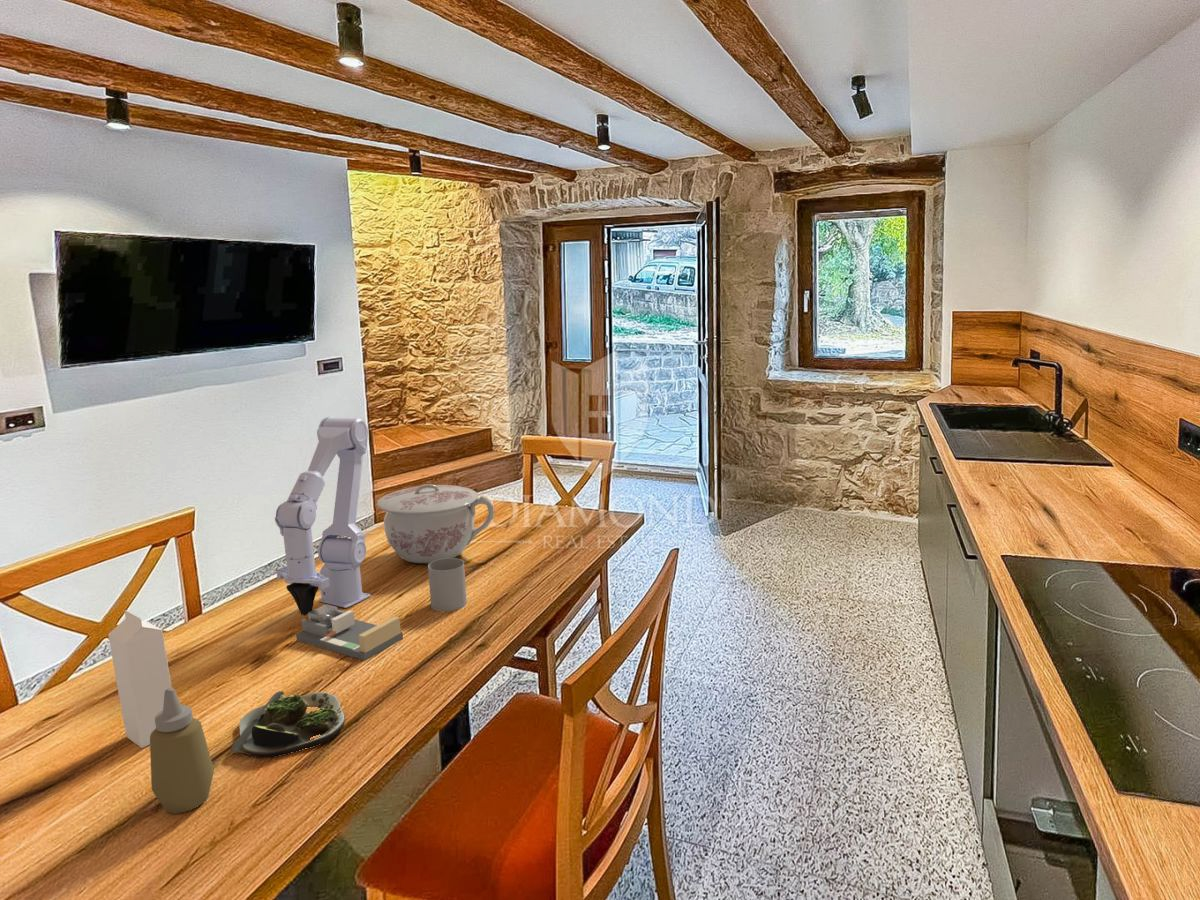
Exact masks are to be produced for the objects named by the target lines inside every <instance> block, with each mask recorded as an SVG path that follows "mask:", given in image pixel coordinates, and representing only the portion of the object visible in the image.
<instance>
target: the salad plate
mask: <svg viewBox="0 0 1200 900" xmlns="http://www.w3.org/2000/svg"><path fill="white" fill-rule="evenodd" d="M307 707H311V708H312V707H318V708H317V709H316V710H311V711H310V712H309V713H307V710H308V709H307ZM319 708H320V709H319ZM323 708H324V709H323ZM345 721H346V717H345V714H344V712H343V710H342V707H341V703H340V701H339V700H338V698H337V697H336V695H334V694H332V693H328V692H312V693H308V694H303V695H299V694H294V695H292V694H291V695H290V696H285V692H284V691H283V690H280V691H277V692H275V693H274V694H273V695H272V696H271V698H269V700H268V701H267V702H266V704H264V705H261V706H258V707H256V708H254V709H251V711H249V712H247V713H246V714H245V715H243V716H242V718H241V719H240V720H239V724H238V725H239V738H237V739H236V740H235V741H234V743H233V745H232V746H231V749H230V751H231V752H232V753H233V754H235V753H243V754H247V755H249V756H252V757H255V756H256V757H255V758H259V757H271V758H275V757H274V756H277V757H280V756H279V755H282V756H284V755H283V754H287V755H289V754H288V753H291V752H295V753H297V752H296V751H298V752H300V751H299V750H302V749H305V748H310V747H313V746H316V745H319V744H321V743H323V744H325V743H327V742H329V741H330V740H332V739H333V738H335V737H336V736H337V735H338V734H339V733H338V732H341V730H342V729H343V727H344V725H345ZM319 734H320V735H321V736H319V737H317V738H316V739H312V740H310V738H311V737H313V736H316V735H319ZM336 734H337V735H336ZM335 735H336V736H335ZM334 736H335V737H334ZM331 738H332V739H331ZM328 740H329V741H328ZM326 741H327V742H326ZM324 742H325V743H324ZM321 745H322V744H321ZM319 746H320V745H319ZM316 747H317V746H316ZM313 748H314V747H313ZM310 749H311V748H310ZM302 751H303V750H302ZM291 754H292V753H291Z"/></svg>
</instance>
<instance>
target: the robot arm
mask: <svg viewBox="0 0 1200 900" xmlns="http://www.w3.org/2000/svg"><path fill="white" fill-rule="evenodd" d="M316 434H317V435H316V437H317V441H318V443H317V446H316V448H315V450H314V453H313V456H312V458H311V461H310V464H309V466H308V468H307V471H304V472H301V473H300V474H299V476H298V478H297V480H296V482H295V484H294V486H293V488H292V490H291V492H290V494H289V496H288V498H287V500H286V501H283V502H282V503H281V504H279V506H277V508H276V513H275V517H274V522H275V524H276V526H277V527H278V528H279V532H280V533H279V534H280V535H281V536H282V537H283V544H284V552H285V553H284V555H285V560H286V562H285V563H286V567H282V568H279V569H277V570H276V578H277V579H279V580H281V579H284V583H285V584H287V585H286V590H287V591H288V592H289V593H290V595H291V597H292V598H293V600H294V601H295V604H296V606H297V609H298V612H299V613H300V615H301V616H308V613H309V612H311V611H313V610H314V604H315V598H316V595H317V592H318V590H320V595H321V598H318V601H319V602H321V603H325V604H327V605H331V606H335V607H340V608H345V609H347V608H349V607H351V606H353V605H356V604H358V603H360V602H362V601H364V600H367V599H368V598H370V597H371V594H370V593H366V592H363V586H362V576H361V564H362V563H363V561H365V559H366V555H367V545H366V533H365V532H363V531H362V530H361V529H360V528H359V527H358V526H357V515H358V507H359V506H358V505H359V497H360V487H361V478H362V469H363V468H362V467H363V459H364V455H365V454H367V448H368V447H367V446H368V439H369V429H368V427H367V424H366V423H365V420H363V419H362V418H361V417H356V418H349V417H348V418H346V417H340V418H339V417H329V416H327V417H324V418H322V419H321V420H320V422H319V425H318V429H317V430H316ZM336 456H337V457H338V458H339V463H338V464H339V465H338V472H337V473H338V474H337V481H336V482H337V483H336V493H335V500H334V509H333V519H332V524H331V525H329V526H328V527H327V528H325V529H324V530H323V531H322V534H321V535H322V536H321V539H320V542H319V544H318V546H317V547H318V548H317V556H318V558H319V560H320V562H321V563H324V564H323V565H322V566H321V568H320V571H317V570H316V561H315V551H314V542H313V533H312V526H313V525H314V523H315V521H316V518H317V509H318V505H317V502H318V500H319V498H320V496H321V495H322V492H323V490H324V488H325V485H326V483H325V482H326V481H325V479H324V476H325V474H326V472H327V470H328V469H329V467H330V466H331V464H332V462H333V460H334V459H335V457H336Z"/></svg>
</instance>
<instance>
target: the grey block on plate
mask: <svg viewBox="0 0 1200 900" xmlns="http://www.w3.org/2000/svg"><path fill="white" fill-rule="evenodd" d="M338 610H339V606H336V605H332V604H328V603H325V604H323V605H322V606H320V607H318V608H315V609H313V610H312V611H311V612H309V613H308V615H307V616H308V620H310V621H313V622H317V623H320V624H324V625H327V628H328V627H330V626H332V621H331V619H333V618H335V617H337V616H338Z"/></svg>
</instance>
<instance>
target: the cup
mask: <svg viewBox="0 0 1200 900" xmlns="http://www.w3.org/2000/svg"><path fill="white" fill-rule="evenodd" d="M427 569H428V582H429V596H430V608H431V609H432V610H434V611H436V610H437V612H441V611H446V612H453V611H458V610H460V609H462V607H463V608H464V607H465V606H466V605H467V604H468V601H467V588H466V572H465V569H466V568H465V561H464V560H463V559H461V558H456V557H454V558H443V559H438V560H435V561H432V562H431V563H429V564H427Z"/></svg>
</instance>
